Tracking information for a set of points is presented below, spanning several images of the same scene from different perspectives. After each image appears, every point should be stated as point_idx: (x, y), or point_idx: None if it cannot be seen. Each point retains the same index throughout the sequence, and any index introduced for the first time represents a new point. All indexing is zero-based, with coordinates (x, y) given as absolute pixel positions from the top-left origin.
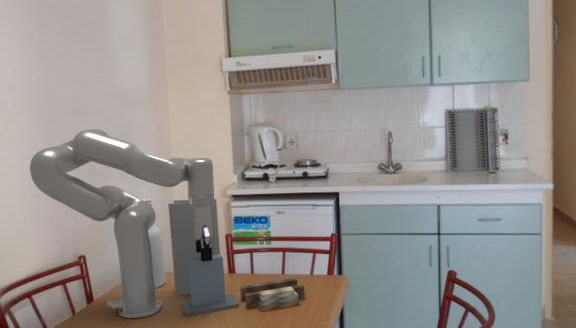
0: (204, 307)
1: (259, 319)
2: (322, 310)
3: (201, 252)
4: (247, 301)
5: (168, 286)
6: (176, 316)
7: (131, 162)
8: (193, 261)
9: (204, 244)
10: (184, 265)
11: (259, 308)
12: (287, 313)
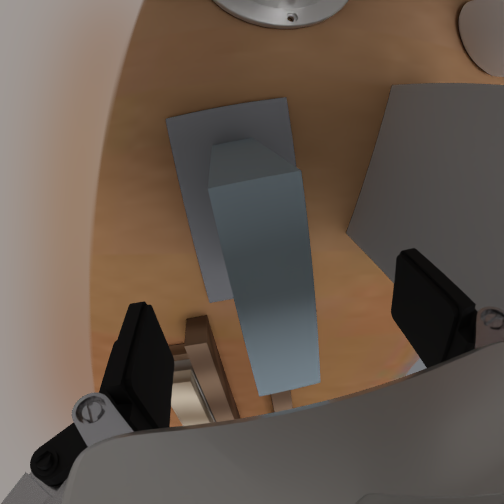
0: (201, 190)
1: (113, 340)
2: None
3: (114, 358)
4: (185, 335)
5: (463, 76)
6: (175, 87)
7: None
8: (216, 224)
9: (39, 447)
10: (456, 135)
11: (170, 349)
12: None
